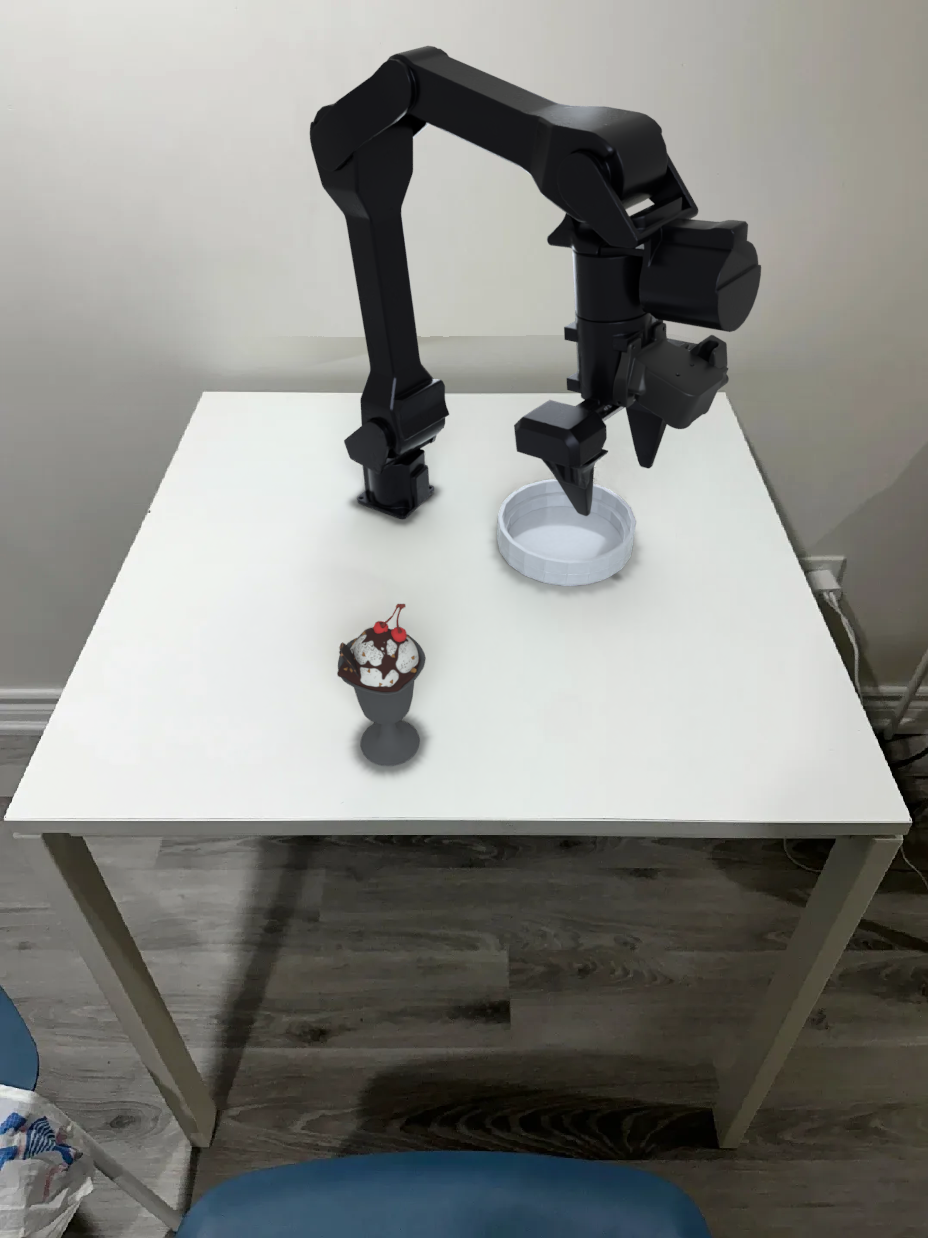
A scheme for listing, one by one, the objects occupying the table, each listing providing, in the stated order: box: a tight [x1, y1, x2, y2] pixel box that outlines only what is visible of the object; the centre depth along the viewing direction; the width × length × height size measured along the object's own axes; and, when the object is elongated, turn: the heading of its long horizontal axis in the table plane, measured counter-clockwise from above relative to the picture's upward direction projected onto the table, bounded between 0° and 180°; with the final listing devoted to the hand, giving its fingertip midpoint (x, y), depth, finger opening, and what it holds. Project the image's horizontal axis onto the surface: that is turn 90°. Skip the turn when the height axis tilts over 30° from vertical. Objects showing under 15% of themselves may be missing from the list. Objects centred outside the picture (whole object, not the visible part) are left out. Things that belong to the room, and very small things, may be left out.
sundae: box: [336, 603, 427, 767], centre depth 69 cm, size 7×7×15 cm
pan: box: [496, 478, 637, 587], centre depth 92 cm, size 14×14×4 cm
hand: (615, 489), depth 76 cm, fingers open, 9 cm apart
